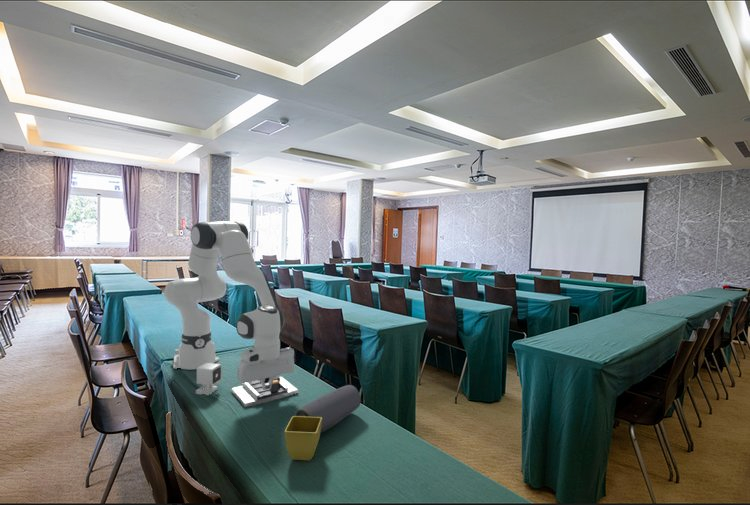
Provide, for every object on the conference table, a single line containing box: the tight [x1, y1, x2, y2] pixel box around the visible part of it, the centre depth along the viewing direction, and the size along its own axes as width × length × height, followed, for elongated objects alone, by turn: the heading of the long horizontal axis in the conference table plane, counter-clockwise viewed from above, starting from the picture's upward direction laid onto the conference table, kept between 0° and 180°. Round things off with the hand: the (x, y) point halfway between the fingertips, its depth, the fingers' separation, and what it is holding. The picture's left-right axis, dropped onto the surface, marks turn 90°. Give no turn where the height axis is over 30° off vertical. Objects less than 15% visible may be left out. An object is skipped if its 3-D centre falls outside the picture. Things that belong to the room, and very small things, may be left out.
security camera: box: [195, 363, 223, 396], centre depth 143 cm, size 6×7×10 cm
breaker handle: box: [270, 380, 279, 392], centre depth 139 cm, size 2×2×4 cm
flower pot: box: [284, 415, 322, 461], centre depth 105 cm, size 9×9×9 cm
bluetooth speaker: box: [294, 384, 362, 433], centre depth 121 cm, size 23×9×10 cm, turn 145°
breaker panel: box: [231, 376, 299, 408], centre depth 143 cm, size 15×20×6 cm
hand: (266, 388), depth 137 cm, fingers closed
